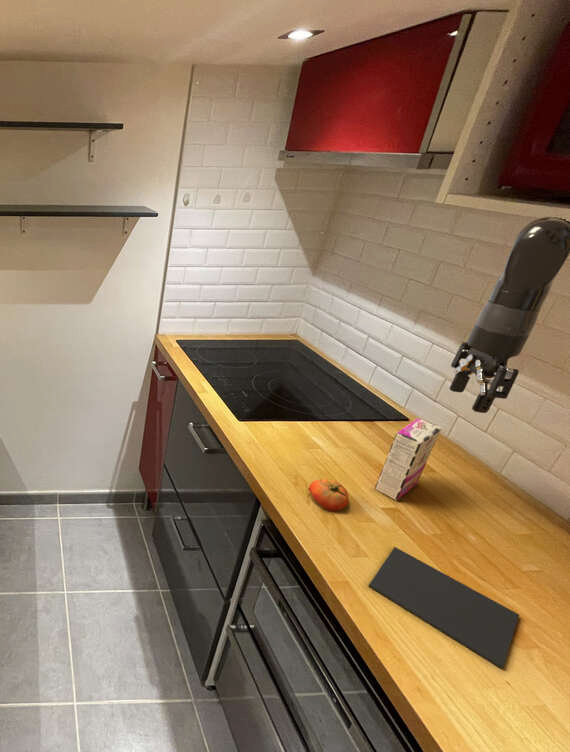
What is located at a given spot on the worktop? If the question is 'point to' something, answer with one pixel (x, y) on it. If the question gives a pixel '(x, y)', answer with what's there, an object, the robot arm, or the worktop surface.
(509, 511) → the worktop surface
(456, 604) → the mat
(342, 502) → the tomato
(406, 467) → the candy bar box
